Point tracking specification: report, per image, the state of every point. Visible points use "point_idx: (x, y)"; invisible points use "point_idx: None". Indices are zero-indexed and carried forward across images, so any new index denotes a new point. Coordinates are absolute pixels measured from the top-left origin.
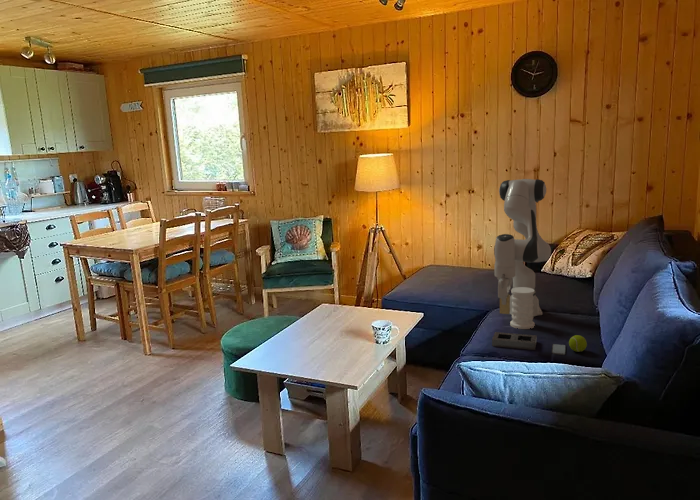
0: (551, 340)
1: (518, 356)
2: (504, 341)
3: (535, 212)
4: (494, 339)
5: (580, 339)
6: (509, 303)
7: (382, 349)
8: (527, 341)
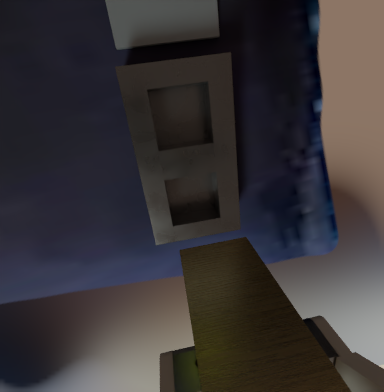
0: (34, 4)
1: (278, 114)
2: (237, 186)
3: None
4: (237, 222)
5: None
6: (244, 301)
7: None
8: (218, 94)
